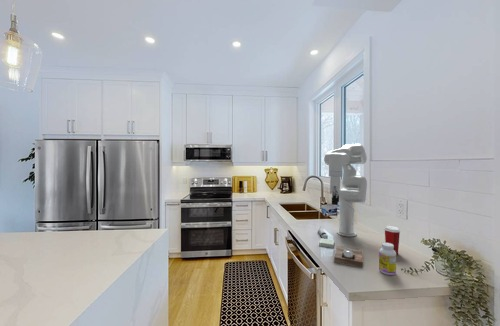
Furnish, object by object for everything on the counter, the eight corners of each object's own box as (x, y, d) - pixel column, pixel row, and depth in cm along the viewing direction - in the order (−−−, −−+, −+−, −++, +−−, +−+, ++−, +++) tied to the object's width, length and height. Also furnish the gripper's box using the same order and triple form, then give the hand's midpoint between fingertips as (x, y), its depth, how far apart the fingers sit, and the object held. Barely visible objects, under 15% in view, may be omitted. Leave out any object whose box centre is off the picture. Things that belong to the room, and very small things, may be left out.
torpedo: (329, 240, 143) (329, 230, 143) (322, 240, 143) (322, 230, 143) (322, 231, 161) (322, 222, 161) (315, 231, 161) (316, 222, 161)
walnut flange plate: (336, 250, 126) (336, 245, 126) (362, 254, 121) (362, 249, 121) (334, 262, 112) (334, 256, 112) (362, 267, 106) (362, 261, 106)
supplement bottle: (375, 268, 105) (376, 241, 105) (389, 268, 105) (389, 241, 105) (385, 276, 98) (385, 247, 98) (399, 275, 99) (399, 246, 99)
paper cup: (397, 251, 125) (398, 226, 125) (402, 256, 118) (402, 230, 118) (382, 249, 128) (382, 225, 128) (385, 254, 121) (385, 229, 121)
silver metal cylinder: (344, 258, 116) (343, 248, 116) (353, 259, 114) (353, 250, 114) (343, 261, 112) (343, 251, 112) (352, 263, 110) (352, 253, 110)
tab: (321, 241, 140) (321, 238, 140) (334, 243, 137) (334, 240, 137) (319, 245, 133) (319, 242, 133) (333, 248, 130) (333, 244, 130)
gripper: (330, 173, 139) (330, 200, 139) (327, 174, 124) (327, 205, 124) (343, 173, 136) (343, 201, 136) (341, 175, 120) (341, 206, 121)
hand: (335, 203), depth 130 cm, fingers open, 9 cm apart
